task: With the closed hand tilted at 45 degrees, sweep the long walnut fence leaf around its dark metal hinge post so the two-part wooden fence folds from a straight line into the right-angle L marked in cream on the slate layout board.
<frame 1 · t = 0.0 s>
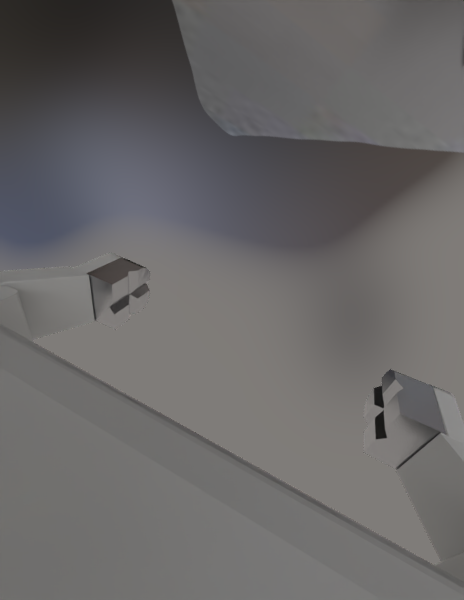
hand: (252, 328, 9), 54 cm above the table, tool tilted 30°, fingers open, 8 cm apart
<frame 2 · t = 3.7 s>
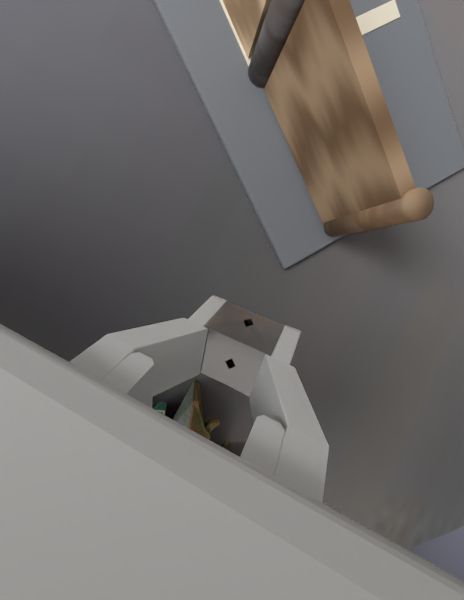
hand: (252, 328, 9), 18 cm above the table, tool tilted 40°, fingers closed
fence leaf: (333, 140, 21), point 6 cm above the table, hinge at 0.0°
layout board: (325, 83, 26), on the table
fixed fence: (260, 73, 25), resting on layout board
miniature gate: (98, 491, 28), on the table
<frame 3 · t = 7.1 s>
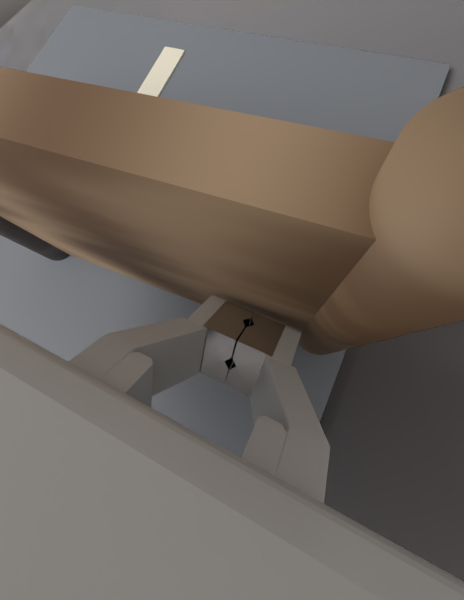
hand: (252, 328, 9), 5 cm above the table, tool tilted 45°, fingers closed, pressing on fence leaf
fence leaf: (143, 241, 9), point 6 cm above the table, hinge at 2.5°, touching gripper
layout board: (151, 178, 17), on the table
fixed fence: (60, 242, 16), resting on layout board
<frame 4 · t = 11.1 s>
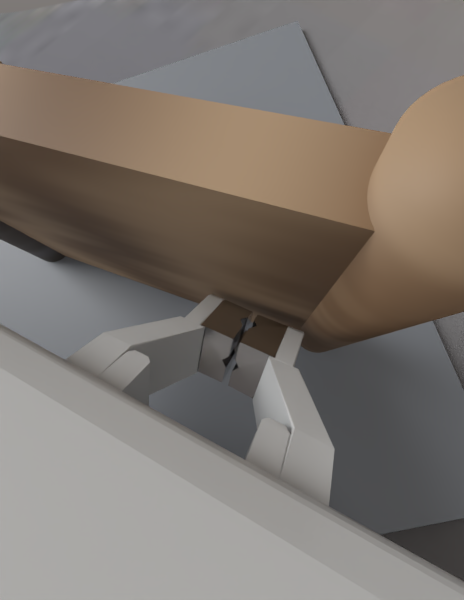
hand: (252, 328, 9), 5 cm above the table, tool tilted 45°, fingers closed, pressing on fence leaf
fence leaf: (139, 240, 9), point 6 cm above the table, hinge at 55.5°, touching gripper
layout board: (162, 264, 15), on the table
fixed fence: (55, 243, 16), resting on layout board
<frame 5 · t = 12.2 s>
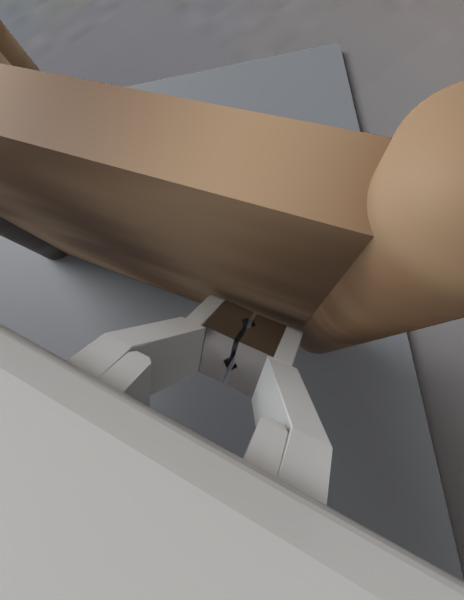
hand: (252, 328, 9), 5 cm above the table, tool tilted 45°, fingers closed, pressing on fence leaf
fence leaf: (141, 239, 9), point 6 cm above the table, hinge at 64.2°, touching gripper
layout board: (157, 280, 15), on the table
fixed fence: (58, 240, 16), resting on layout board
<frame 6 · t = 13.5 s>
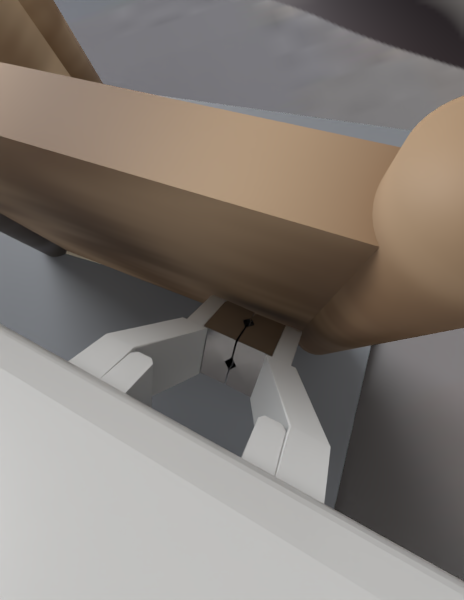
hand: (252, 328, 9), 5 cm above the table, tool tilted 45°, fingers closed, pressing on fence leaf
fence leaf: (142, 239, 9), point 6 cm above the table, hinge at 85.7°, touching gripper
layout board: (131, 315, 15), on the table
fixed fence: (58, 237, 16), resting on layout board
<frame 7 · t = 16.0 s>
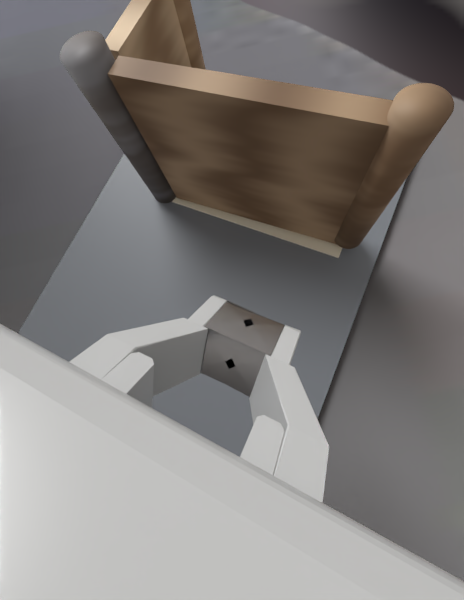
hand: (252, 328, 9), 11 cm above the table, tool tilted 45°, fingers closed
fence leaf: (259, 167, 16), point 6 cm above the table, hinge at 92.1°
layout board: (214, 245, 22), on the table
fixed fence: (166, 191, 24), resting on layout board
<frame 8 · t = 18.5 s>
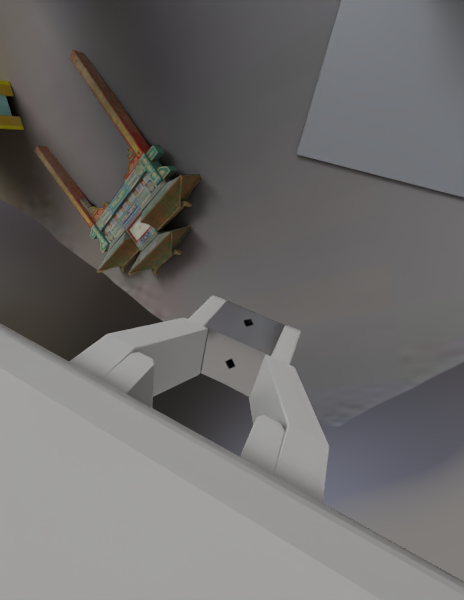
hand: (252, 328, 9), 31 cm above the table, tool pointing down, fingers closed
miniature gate: (125, 187, 46), on the table
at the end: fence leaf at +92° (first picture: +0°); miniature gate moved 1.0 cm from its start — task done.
